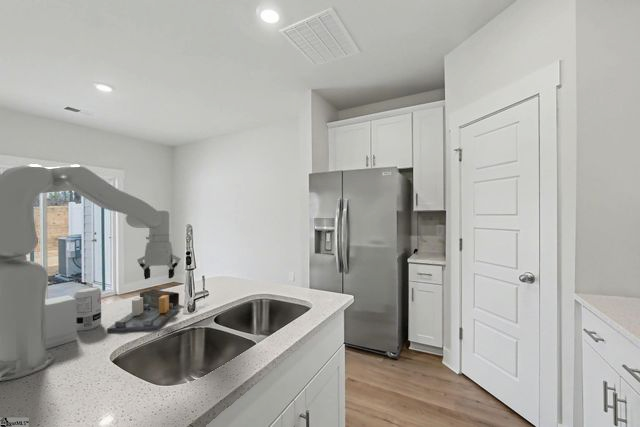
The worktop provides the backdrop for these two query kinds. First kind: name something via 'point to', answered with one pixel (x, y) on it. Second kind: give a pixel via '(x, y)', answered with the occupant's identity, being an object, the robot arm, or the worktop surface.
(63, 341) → the supplement box
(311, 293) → the worktop surface
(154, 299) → the beverage carton
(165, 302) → the orange fader
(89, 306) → the supplement can
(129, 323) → the console
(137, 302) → the cream fader
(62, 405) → the worktop surface
